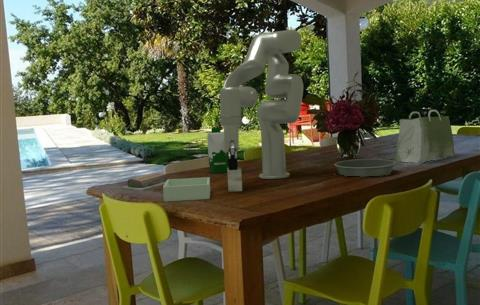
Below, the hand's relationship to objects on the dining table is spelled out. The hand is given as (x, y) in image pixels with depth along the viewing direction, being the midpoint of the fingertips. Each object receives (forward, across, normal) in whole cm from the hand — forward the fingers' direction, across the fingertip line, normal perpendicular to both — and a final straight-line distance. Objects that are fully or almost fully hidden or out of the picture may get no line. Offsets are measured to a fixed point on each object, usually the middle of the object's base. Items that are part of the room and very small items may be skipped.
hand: (232, 168), depth 194 cm
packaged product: (+9, -20, -34) cm, 41 cm away
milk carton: (+7, -47, -5) cm, 48 cm away
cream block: (+8, -1, +1) cm, 8 cm away
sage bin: (+9, +5, -16) cm, 19 cm away
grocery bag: (+5, -51, +91) cm, 104 cm away
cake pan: (+7, -22, +55) cm, 59 cm away
